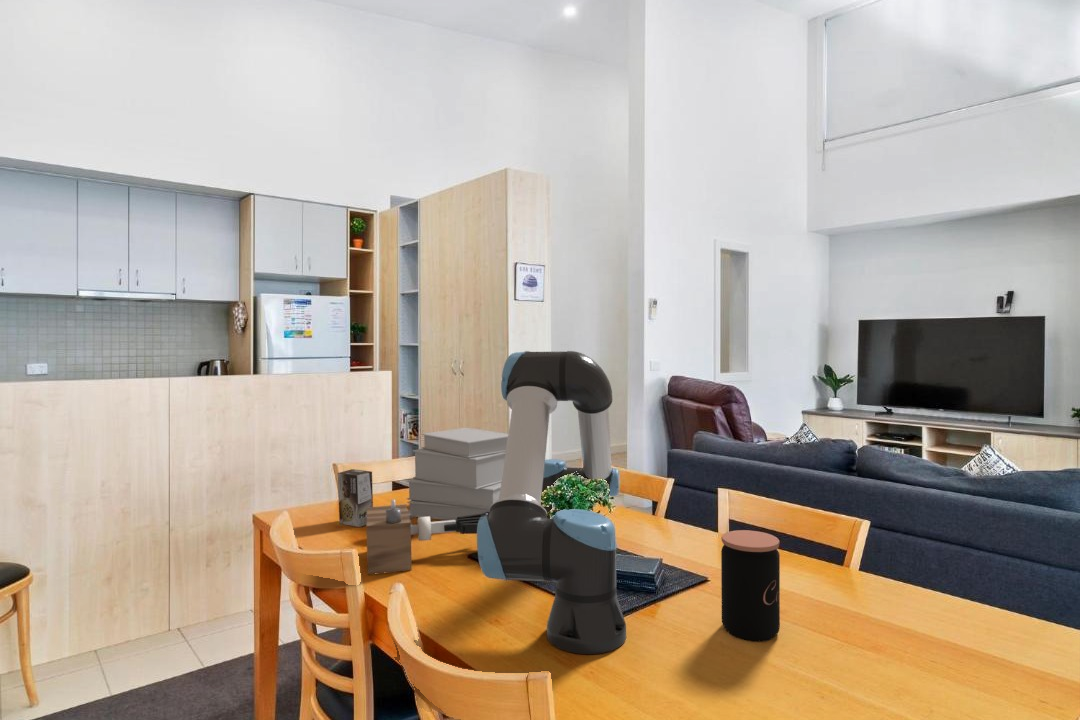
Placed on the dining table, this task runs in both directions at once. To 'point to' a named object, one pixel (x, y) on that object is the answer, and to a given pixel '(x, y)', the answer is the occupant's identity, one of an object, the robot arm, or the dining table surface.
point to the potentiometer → (393, 514)
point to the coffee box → (354, 496)
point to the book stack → (457, 473)
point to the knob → (422, 528)
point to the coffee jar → (750, 585)
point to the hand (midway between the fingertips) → (431, 527)
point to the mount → (388, 541)
